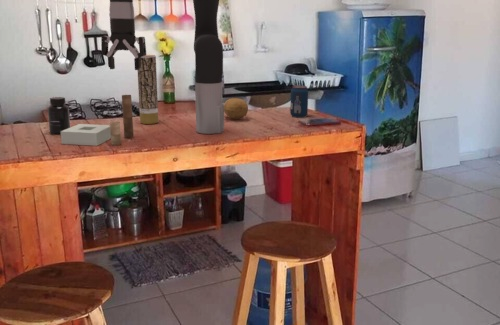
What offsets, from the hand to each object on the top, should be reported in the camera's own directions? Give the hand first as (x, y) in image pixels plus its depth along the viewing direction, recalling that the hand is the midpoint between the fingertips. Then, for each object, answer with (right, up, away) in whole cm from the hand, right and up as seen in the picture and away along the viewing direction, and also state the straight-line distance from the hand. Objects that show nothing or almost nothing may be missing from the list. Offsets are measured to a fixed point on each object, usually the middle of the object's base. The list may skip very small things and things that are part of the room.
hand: (124, 69), depth 169 cm
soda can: (+60, -11, +43) cm, 75 cm away
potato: (+35, -13, +38) cm, 53 cm away
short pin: (-2, -24, -4) cm, 25 cm away
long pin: (0, -22, +6) cm, 22 cm away
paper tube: (+2, -15, +29) cm, 33 cm away
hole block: (-12, -23, +1) cm, 26 cm away
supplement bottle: (-25, -20, +12) cm, 34 cm away
